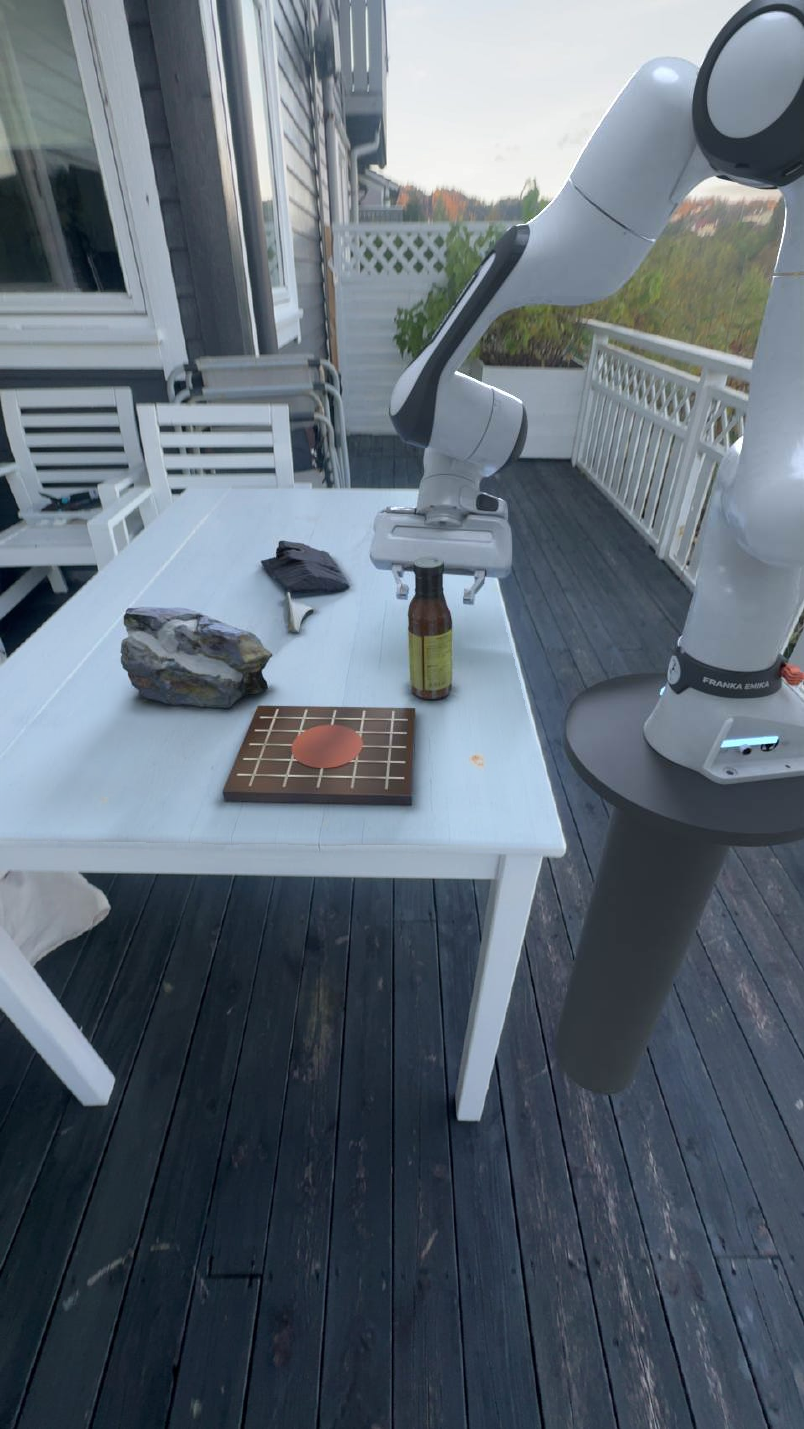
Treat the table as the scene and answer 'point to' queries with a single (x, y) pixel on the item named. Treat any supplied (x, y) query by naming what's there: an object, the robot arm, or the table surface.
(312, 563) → the dark slate chunk
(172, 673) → the fossil rock
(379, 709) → the grid board
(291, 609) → the ceramic fragment
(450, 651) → the sauce bottle
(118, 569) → the table surface
